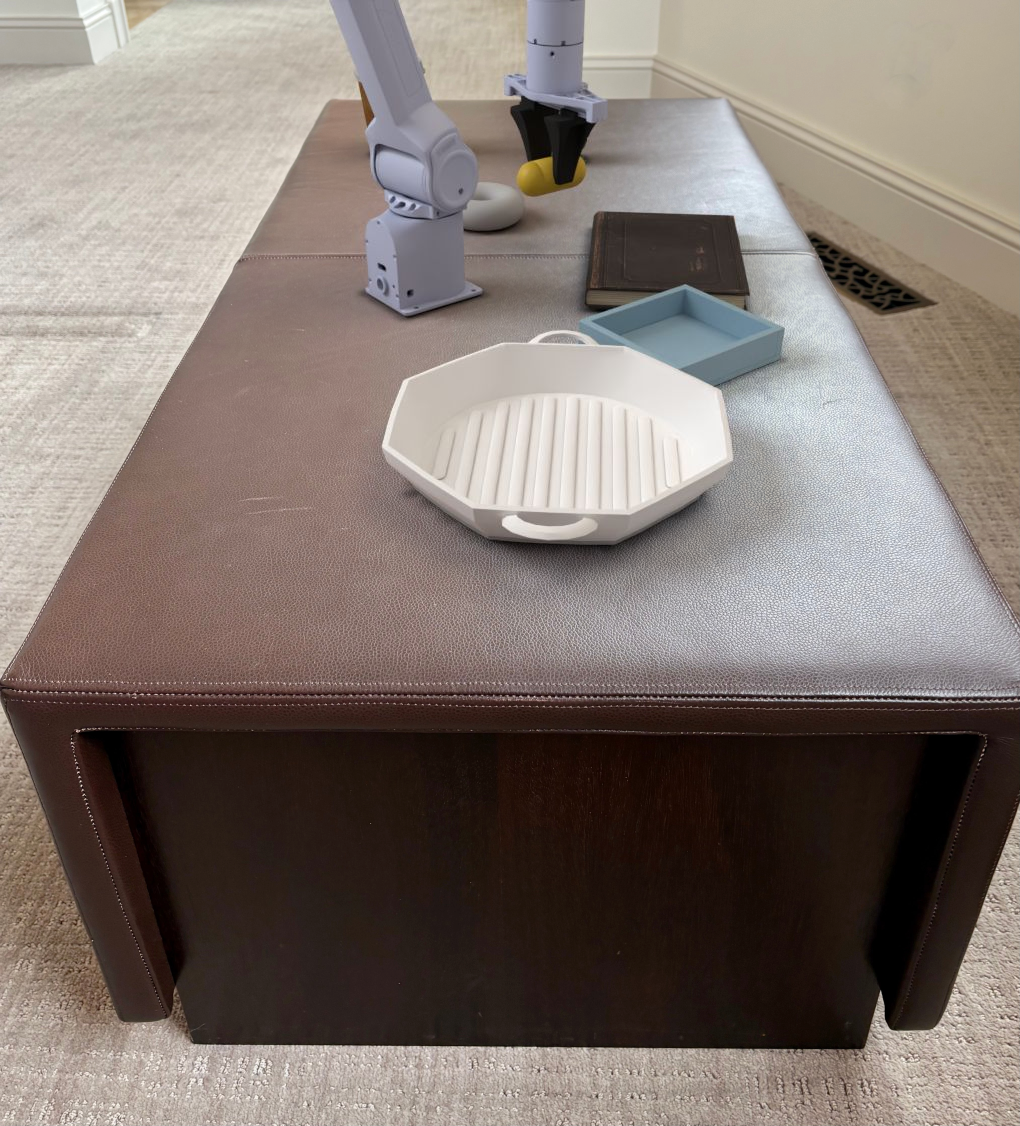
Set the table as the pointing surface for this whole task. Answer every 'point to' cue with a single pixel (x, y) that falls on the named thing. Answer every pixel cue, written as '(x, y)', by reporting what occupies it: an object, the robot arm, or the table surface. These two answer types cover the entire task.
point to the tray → (690, 333)
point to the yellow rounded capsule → (545, 177)
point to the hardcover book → (663, 257)
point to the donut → (493, 207)
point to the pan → (559, 440)
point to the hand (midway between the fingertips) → (551, 178)
